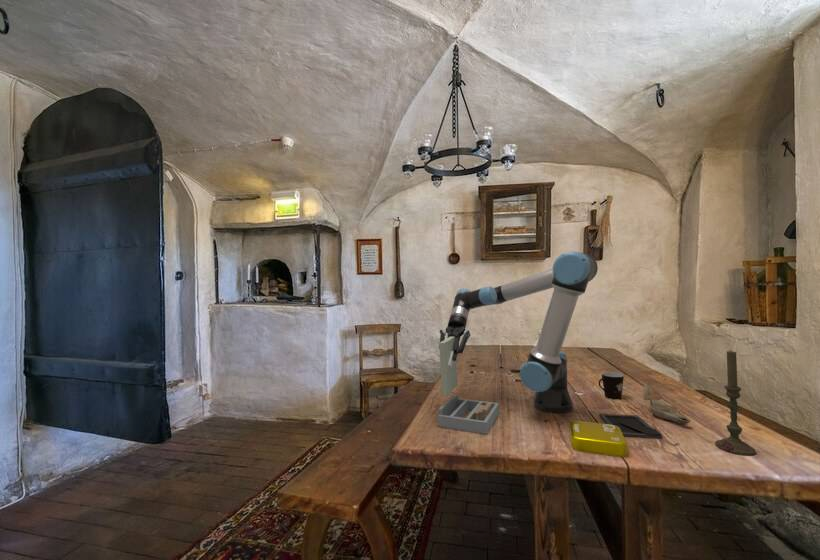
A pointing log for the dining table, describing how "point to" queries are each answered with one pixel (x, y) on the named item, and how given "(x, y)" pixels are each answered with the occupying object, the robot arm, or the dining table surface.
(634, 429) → the picture frame
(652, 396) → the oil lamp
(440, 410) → the offcut rack
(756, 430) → the dining table surface
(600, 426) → the element tile
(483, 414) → the pine offcut stack
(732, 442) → the candlestick holder
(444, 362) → the sage hardboard sheet
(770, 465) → the dining table surface
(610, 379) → the coffee mug
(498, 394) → the dining table surface
